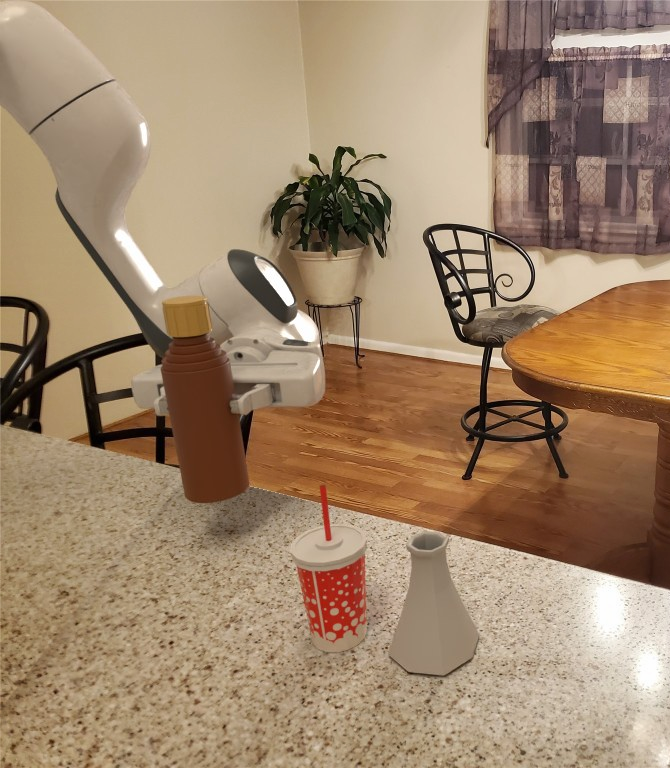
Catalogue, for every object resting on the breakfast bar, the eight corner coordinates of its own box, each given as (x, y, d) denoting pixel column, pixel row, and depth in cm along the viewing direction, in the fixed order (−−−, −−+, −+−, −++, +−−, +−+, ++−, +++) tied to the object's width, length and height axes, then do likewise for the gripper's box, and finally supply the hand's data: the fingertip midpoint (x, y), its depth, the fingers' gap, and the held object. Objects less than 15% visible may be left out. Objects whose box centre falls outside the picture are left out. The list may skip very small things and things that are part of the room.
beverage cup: (388, 618, 61) (375, 473, 56) (354, 664, 55) (337, 508, 51) (326, 607, 62) (309, 466, 58) (288, 652, 57) (265, 499, 52)
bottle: (176, 506, 70) (138, 313, 63) (195, 478, 76) (161, 300, 69) (242, 500, 71) (210, 309, 64) (255, 473, 77) (227, 296, 70)
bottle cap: (162, 338, 66) (155, 304, 65) (175, 329, 69) (169, 296, 68) (205, 336, 66) (200, 302, 65) (216, 326, 70) (211, 294, 69)
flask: (372, 660, 55) (361, 552, 52) (423, 611, 61) (416, 511, 58) (447, 689, 52) (440, 575, 49) (494, 634, 58) (490, 529, 55)
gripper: (163, 344, 82) (92, 380, 69) (332, 342, 81) (293, 377, 68) (173, 394, 84) (105, 438, 71) (338, 392, 83) (301, 436, 70)
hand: (199, 408), depth 69 cm, fingers closed on bottle, 6 cm apart
